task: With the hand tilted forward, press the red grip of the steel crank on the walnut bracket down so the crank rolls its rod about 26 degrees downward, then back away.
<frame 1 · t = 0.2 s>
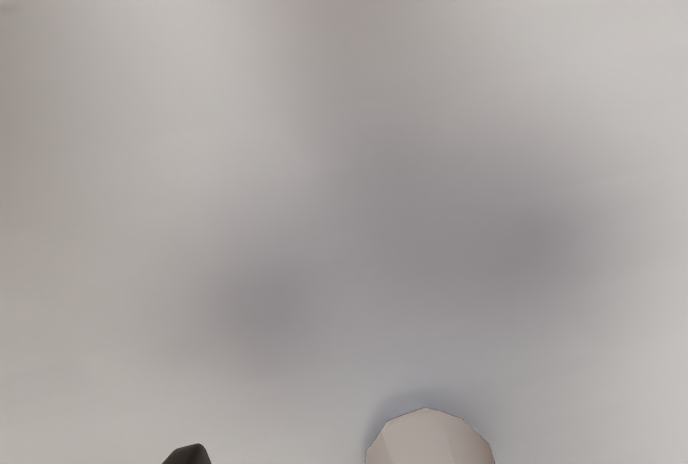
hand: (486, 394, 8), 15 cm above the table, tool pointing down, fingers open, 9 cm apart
salt shaker: (418, 447, 25), on the table
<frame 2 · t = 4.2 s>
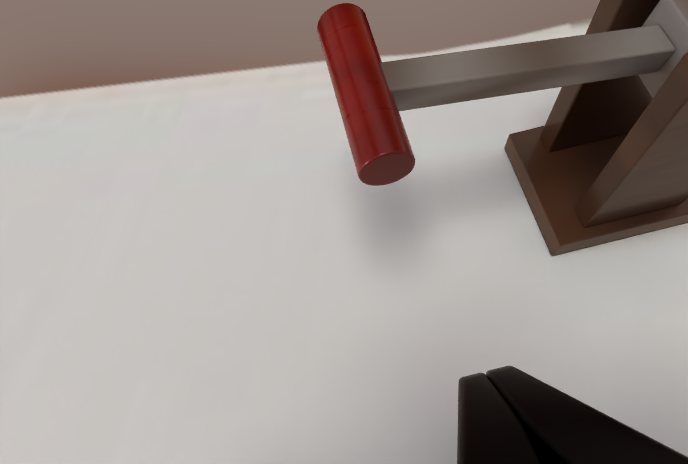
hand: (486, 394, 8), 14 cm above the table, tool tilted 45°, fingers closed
rod bracket: (597, 181, 24), on the table
crank: (547, 64, 16), point 10 cm above the table, hinge at 8.0°
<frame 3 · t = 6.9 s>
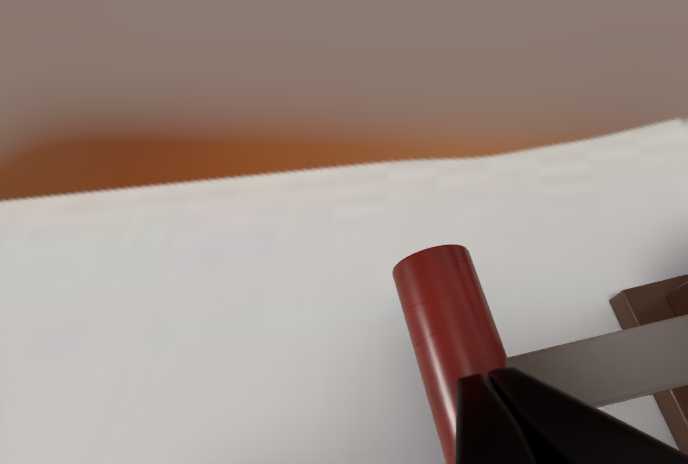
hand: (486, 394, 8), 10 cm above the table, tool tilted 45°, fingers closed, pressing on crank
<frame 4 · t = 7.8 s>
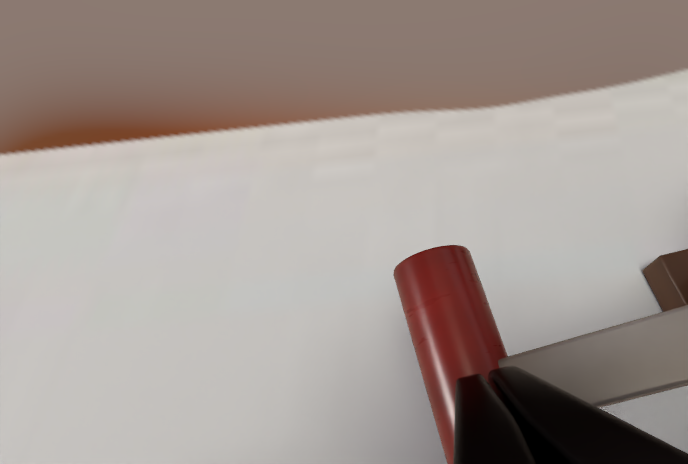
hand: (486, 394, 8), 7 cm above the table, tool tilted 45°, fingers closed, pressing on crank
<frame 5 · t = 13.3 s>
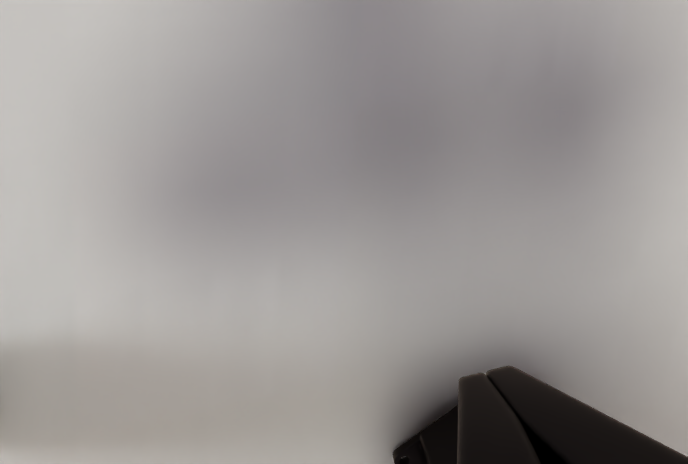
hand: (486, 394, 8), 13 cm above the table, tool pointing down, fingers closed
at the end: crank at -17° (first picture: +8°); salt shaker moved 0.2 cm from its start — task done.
